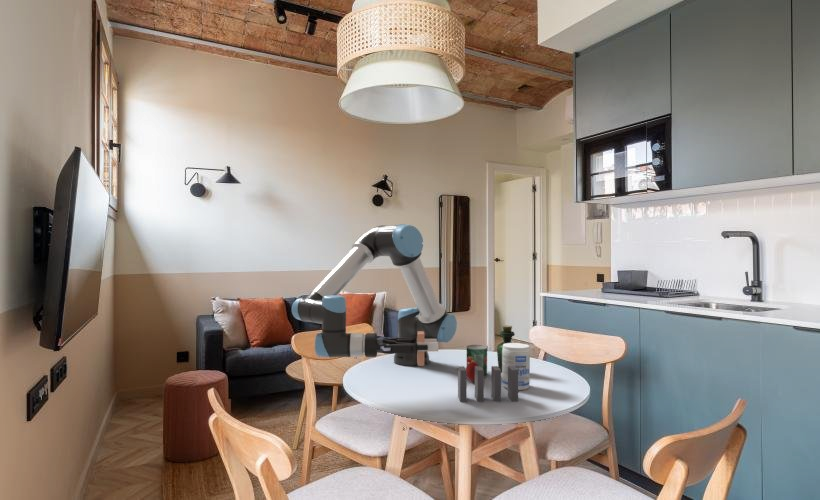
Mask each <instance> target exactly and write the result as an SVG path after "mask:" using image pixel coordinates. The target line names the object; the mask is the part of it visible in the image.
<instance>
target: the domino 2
mask: <svg viewBox="0 0 820 500" xmlns="http://www.w3.org/2000/svg"><path fill="white" fill-rule="evenodd" d="M484 384H485V378H484V370H483V368H482V367H481V366H475V382H474V398H475V400H476V402H477V403H484V400H485V397H484V395H485V394H484V393H485V392H484V391H485V385H484Z"/></svg>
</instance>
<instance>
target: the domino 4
mask: <svg viewBox="0 0 820 500" xmlns="http://www.w3.org/2000/svg"><path fill="white" fill-rule="evenodd" d="M507 397H508V399H509V400H510V402H519V390H518V369H516V368H515V367H514V366H508V389H507Z"/></svg>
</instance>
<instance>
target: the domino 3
mask: <svg viewBox="0 0 820 500" xmlns="http://www.w3.org/2000/svg"><path fill="white" fill-rule="evenodd" d="M490 372H491V381H490V383H491V384H490V386H491V387H490V388H491V391H490V398H492V399H493V402H495V403H496V402H497V403H498V402H499V403H500V402H502V373H501V370H500V368H499V367H498V365H494V366H493V365H492V366H491V371H490Z"/></svg>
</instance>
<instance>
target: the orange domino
mask: <svg viewBox="0 0 820 500" xmlns="http://www.w3.org/2000/svg"><path fill="white" fill-rule="evenodd" d="M418 342H424V331H417V345H418ZM417 363H418V366H419V367H423V366H425V364H424V351H418V350H417ZM418 366H417V367H418Z"/></svg>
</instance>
